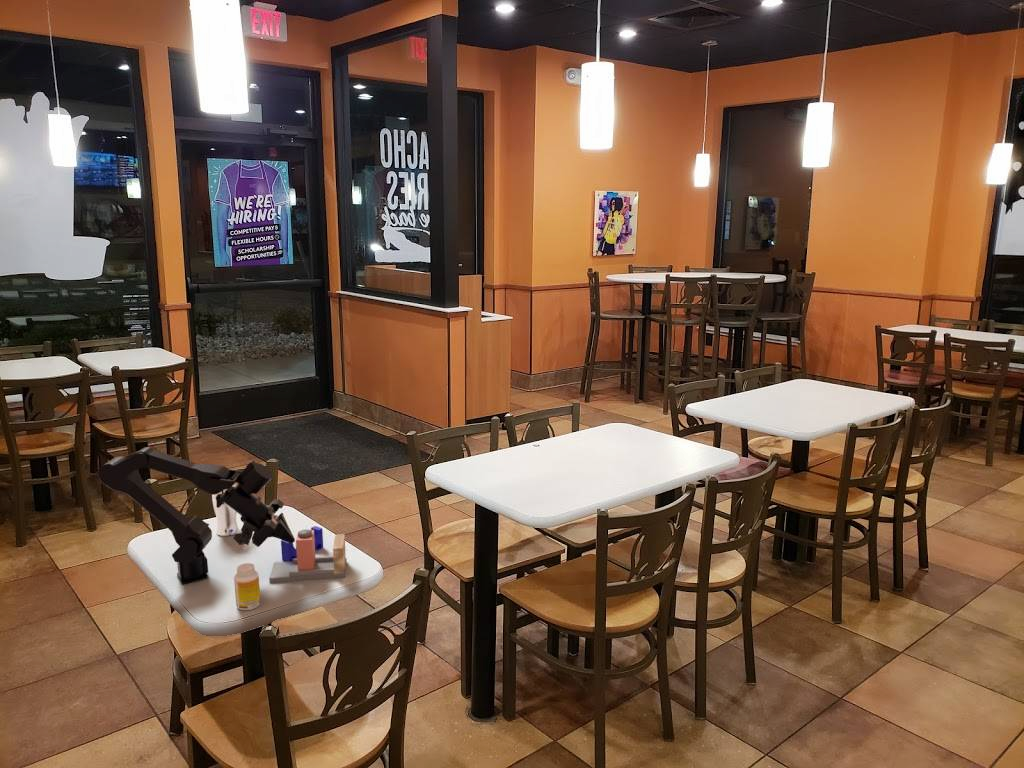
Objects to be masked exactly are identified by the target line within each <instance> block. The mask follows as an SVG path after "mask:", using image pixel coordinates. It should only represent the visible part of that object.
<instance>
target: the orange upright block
mask: <svg viewBox="0 0 1024 768" xmlns="http://www.w3.org/2000/svg"><path fill="white" fill-rule="evenodd" d="M295 549H296V550H297V566H298V571H300V570H314V567H315V562H316V557H317V556H316V551H315V539H314V530H311V529H302V530H298V531H297V534H296V538H295Z"/></svg>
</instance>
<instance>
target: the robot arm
mask: <svg viewBox="0 0 1024 768" xmlns="http://www.w3.org/2000/svg"><path fill="white" fill-rule="evenodd" d="M141 468H147V469H150V470H153V471H157V472H159V473H163V474H166V475H169V476H172V477H175V478H177V479H181V480H184V481H187V482H189V483H191V484H193V485H194V486H195V488H197V489H199V490H200V491H202V492H205V493H206V494H209V495H211V496H212V495H215V494H218V493H220V492H221V491H222V490H225V489H227V490H226V491H225V492H224V493H223V494H218V495H217V496H216V502H217V506H216V507H217V508H219V507H220V506H221V505H222V504H223V503H226V504H227V505H228V506H230V507H231V508H232V509H233V510H235V511H236V512H237V514H239V516H240V521H241V522H242V523H243V524H242V527H241V528H240V530H239V531H236V533H235V534H234V535H233V540H234V541H235V543H237V544H238V545H239V546H242V545H246V546H249V544H250V541H251V543H252V544H253V545H255V546H256V547H257V548H260V546H262V544H263V543H264V542H265V541H266V540H267V539H269V538H276V539H279V540H280V541H281V540H284V541H286V542H289V543H293V544H294V543H295V542H296V538H295V537H294V535H293V533H292V530H291V528H290V527H289V525H288V523H287V520H286V518H285V516H284V513H283V512H281V513H279V515H278V514H276V513H277V512H278V511H279V509H282V508H283V507H284V505H285V502H283V501H282V500H280V499H279V498H278V499H275V498H274V499H273V500H272V501H271V502H270V503H269V504H268V505H266V503H264V502H262V501H261V500H262V498H261V496H260V495H258V496H255V494H256V495H257V494H258V493H260V491H261V490H262V489H263V488H264V487H265V486H266V485H267V484H268V483H269V482H270V481H271V480H272V479H273V477H274V476H273V472H272V470H271V469H270V468H269V467H268V466H266V465H263V464H262V463H260V462H255V460H251V461H250V462H249V463H247V465H246V466H245V468H244V469H243V470H236V469H229V468H228V467H227V466H225V465H221V464H219V465H218V464H215V463H214V464H213V463H202V464H201V463H196V462H192V461H190V460H186V459H184V458H180V457H177V456H175V455H171V454H169V453H165V452H162V451H158V450H156V449H154V448H152V447H149V446H148V447H147V446H146V447H143V448H141V449H140V450H138V451H135V452H133V453H131V454H129V455H127V456H116V457H114V458H112V459H111V460H109V461H107V462H106V463H104V464H102V466H100V467H99V469H98V472H97V473H98V476H97V477H98V480H99V481H100V483H102V484H103V485H104V486H106V487H108V488H109V489H111V490H113V491H114V492H115V491H116V492H119V493H122V494H126V495H128V497H130V498H131V499H133V501H135V503H137V504H138V505H139V506H140V507H142V508H143V509H144V510H146V511H147V512H148V513H149V514H150V515H151V516H153V517H154V518H155V519H156V520H157V521H158V522H159V523H161V525H163V526H165V527H166V528H167V529H168V530H169V531H170V532H171V534H172V536H173V539H174V541H175V543H176V544H177V545H178V546H179V547H178V548H177V549H176V550H175V551H174V552H173V553H172V554H171V557H172V558H173V560H174V562H175V563H176V564H177V573H176V576H177V578H178V580H179V581H180V583H181V585H185V584H186V585H187V584H189V583H194V582H198V581H201V580H205V579H208V578H209V574H208V573H209V564H208V558H207V556H206V554H205V552H204V551H203V550H205V549H206V546H208V544H209V543H210V541H211V540H212V538H213V531H212V529H211V528H210V527H209V526H210V524H209V523H207V522H205V521H204V520H203V519H202V518H201V517H200V516H199V515H195V516H194V517H193V518H191V517H188V516H186V515H185V514H183V513H182V512H181V511H180V510H178V508H176V507H175V506H174V505H172V504H171V503H170V502H168V500H167V499H165V498H164V497H163V496H162V495H161V494H160V493H159V492H157V491H156V490H155V489H154V488H152V487H151V486H150V485H149V484H147V482H145V481H144V480H143V479H142V476H141V474H140V471H139V469H141ZM235 483H236V486H235V487H232V486H233V485H234V484H235Z"/></svg>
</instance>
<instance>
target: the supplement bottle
mask: <svg viewBox="0 0 1024 768" xmlns="http://www.w3.org/2000/svg"><path fill="white" fill-rule="evenodd" d="M233 578H234V579H233V581H234V593H235V603H236V604H235V605H236V608H237V609H238V610H241V611H251V610H255V609H256V608H258V607H259V606H260V604H261V592H260V591H261V590H260V578H259V572H258V571H256V569H255V565H254V564H253V563H250V562H246V563H241V564H240V565H237V567H236V574H234V577H233Z"/></svg>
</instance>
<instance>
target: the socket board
mask: <svg viewBox="0 0 1024 768" xmlns="http://www.w3.org/2000/svg"><path fill="white" fill-rule="evenodd" d="M315 557H316V562H315V567H314V570H300V571H298V566H297V558H294V559H293V561H291V562H286V561H279V562H273V564H272V569H271V571H270V574H269V579H268V580H269V583H281V582H283V583H284V582H294V581H295V582H296V581H310V580H323V579H322V578H328V579H334V578H333V577H343V578H346V572H347V571H346V570H347V564H348V563H347V560H348V559H347V558H346V560H345V568H344V573H339V574H334V561H333V555H329V556H328V555H327V556H315ZM330 577H331V578H330Z"/></svg>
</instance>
